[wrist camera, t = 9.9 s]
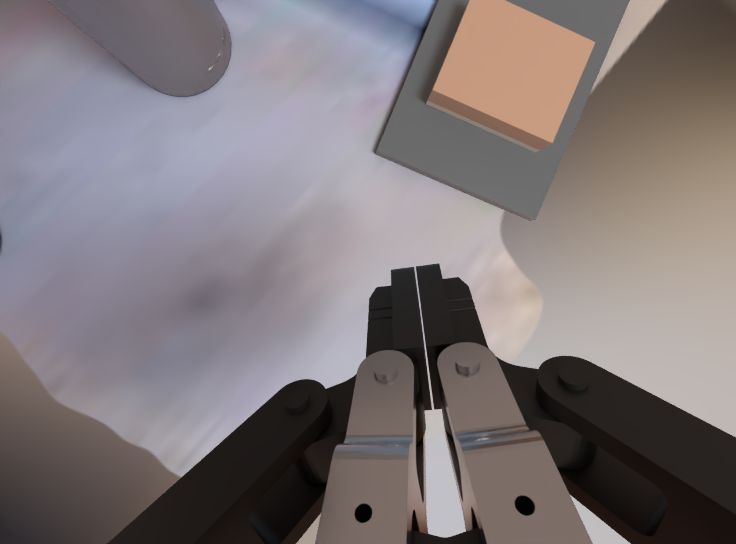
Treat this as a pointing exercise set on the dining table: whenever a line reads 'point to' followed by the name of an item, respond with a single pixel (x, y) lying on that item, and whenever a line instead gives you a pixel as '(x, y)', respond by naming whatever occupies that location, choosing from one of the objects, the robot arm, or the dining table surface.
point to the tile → (510, 73)
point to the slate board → (474, 145)
